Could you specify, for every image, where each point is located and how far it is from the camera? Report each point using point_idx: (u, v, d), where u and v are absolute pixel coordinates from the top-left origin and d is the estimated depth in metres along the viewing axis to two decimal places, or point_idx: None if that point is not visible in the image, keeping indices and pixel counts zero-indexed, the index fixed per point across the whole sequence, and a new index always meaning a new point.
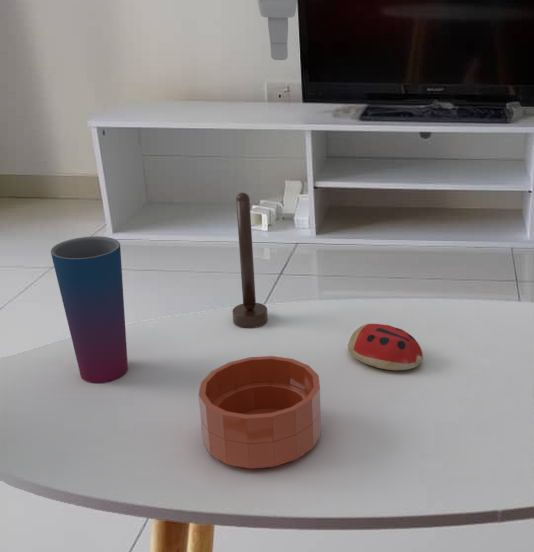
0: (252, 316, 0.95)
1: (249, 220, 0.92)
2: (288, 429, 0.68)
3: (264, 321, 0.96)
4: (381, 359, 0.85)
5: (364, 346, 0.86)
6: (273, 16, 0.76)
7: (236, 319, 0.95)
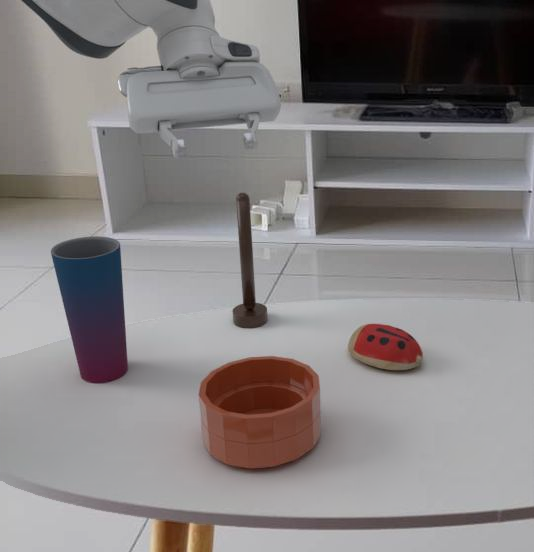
0: (252, 316, 0.95)
1: (249, 220, 0.92)
2: (288, 429, 0.68)
3: (264, 321, 0.96)
4: (381, 359, 0.85)
5: (364, 346, 0.86)
6: (277, 112, 1.04)
7: (236, 319, 0.95)
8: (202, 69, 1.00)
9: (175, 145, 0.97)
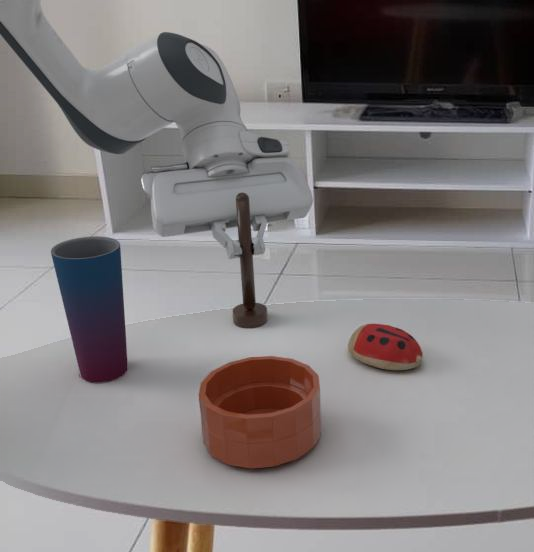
0: (252, 316, 0.95)
1: (249, 220, 0.92)
2: (288, 429, 0.68)
3: (264, 321, 0.96)
4: (381, 359, 0.85)
5: (364, 346, 0.86)
6: (308, 210, 0.98)
7: (236, 319, 0.95)
8: (232, 167, 0.94)
9: (231, 247, 0.92)
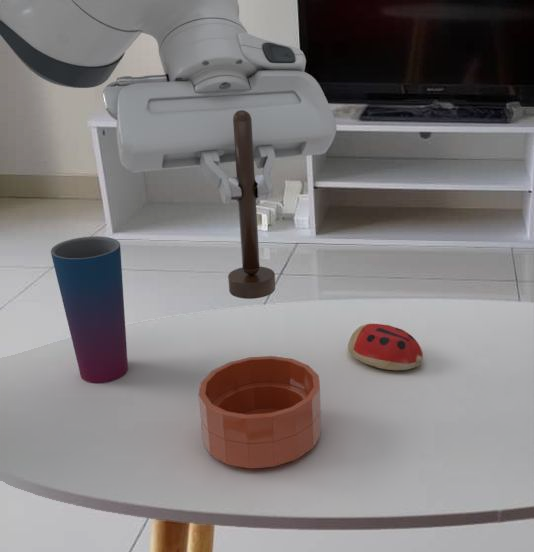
0: (255, 282, 0.70)
1: (251, 150, 0.67)
2: (288, 429, 0.68)
3: (271, 290, 0.71)
4: (381, 359, 0.85)
5: (364, 346, 0.86)
6: (331, 142, 0.73)
7: (233, 287, 0.70)
8: (227, 80, 0.69)
9: (226, 186, 0.67)
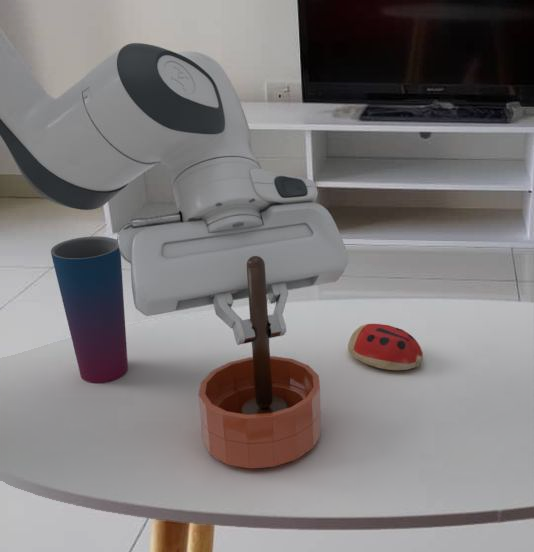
0: None
1: (265, 293, 0.67)
2: (288, 429, 0.68)
3: None
4: (381, 359, 0.85)
5: (364, 346, 0.86)
6: (343, 272, 0.74)
7: None
8: (240, 219, 0.69)
9: (240, 329, 0.67)
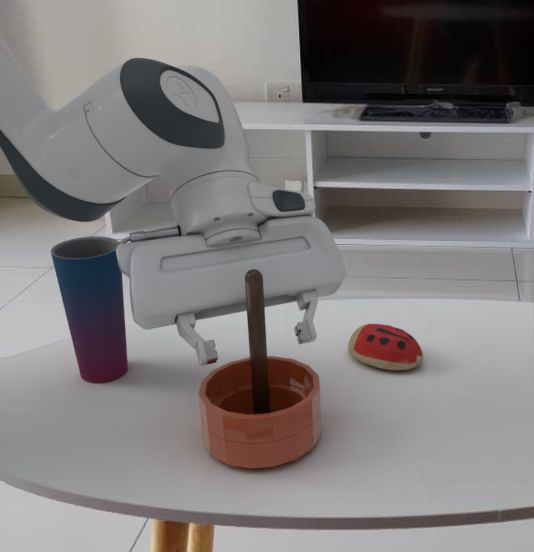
0: None
1: (263, 306, 0.68)
2: (288, 429, 0.68)
3: None
4: (381, 359, 0.85)
5: (364, 346, 0.86)
6: (340, 285, 0.74)
7: None
8: (238, 234, 0.70)
9: (202, 350, 0.66)
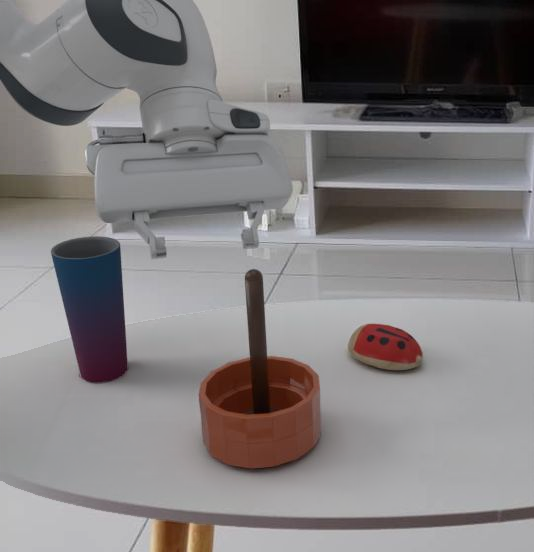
0: None
1: (263, 306, 0.68)
2: (288, 429, 0.68)
3: None
4: (381, 359, 0.85)
5: (364, 346, 0.86)
6: (287, 200, 0.82)
7: None
8: (194, 145, 0.78)
9: (153, 245, 0.75)
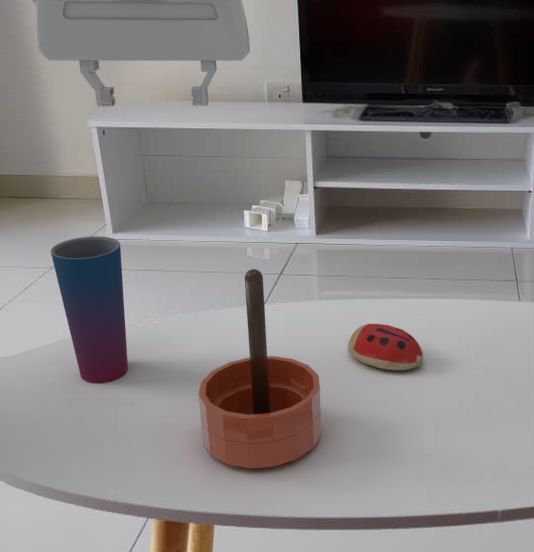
0: None
1: (263, 306, 0.68)
2: (288, 429, 0.68)
3: None
4: (381, 359, 0.85)
5: (364, 346, 0.86)
6: None
7: None
8: None
9: (98, 98, 0.76)
